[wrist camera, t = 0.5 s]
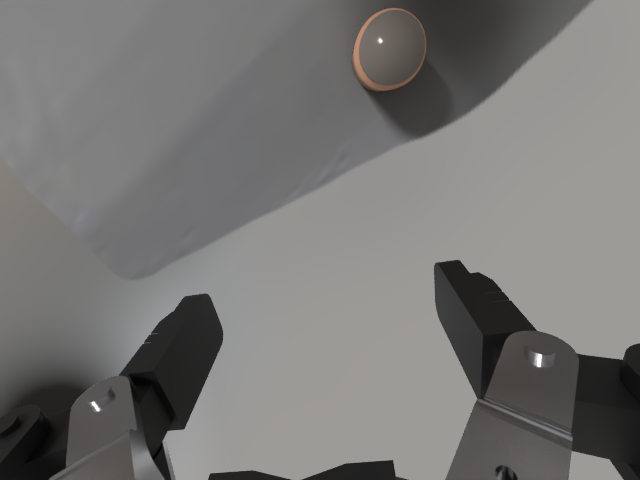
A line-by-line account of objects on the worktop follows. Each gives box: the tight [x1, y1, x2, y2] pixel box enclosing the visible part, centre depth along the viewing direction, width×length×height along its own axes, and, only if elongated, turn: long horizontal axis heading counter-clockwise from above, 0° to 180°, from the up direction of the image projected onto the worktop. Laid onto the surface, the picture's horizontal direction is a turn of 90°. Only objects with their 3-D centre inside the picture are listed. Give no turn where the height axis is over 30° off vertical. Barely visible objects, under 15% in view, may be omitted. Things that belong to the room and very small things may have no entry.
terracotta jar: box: [352, 8, 426, 92], centre depth 27 cm, size 6×6×6 cm
